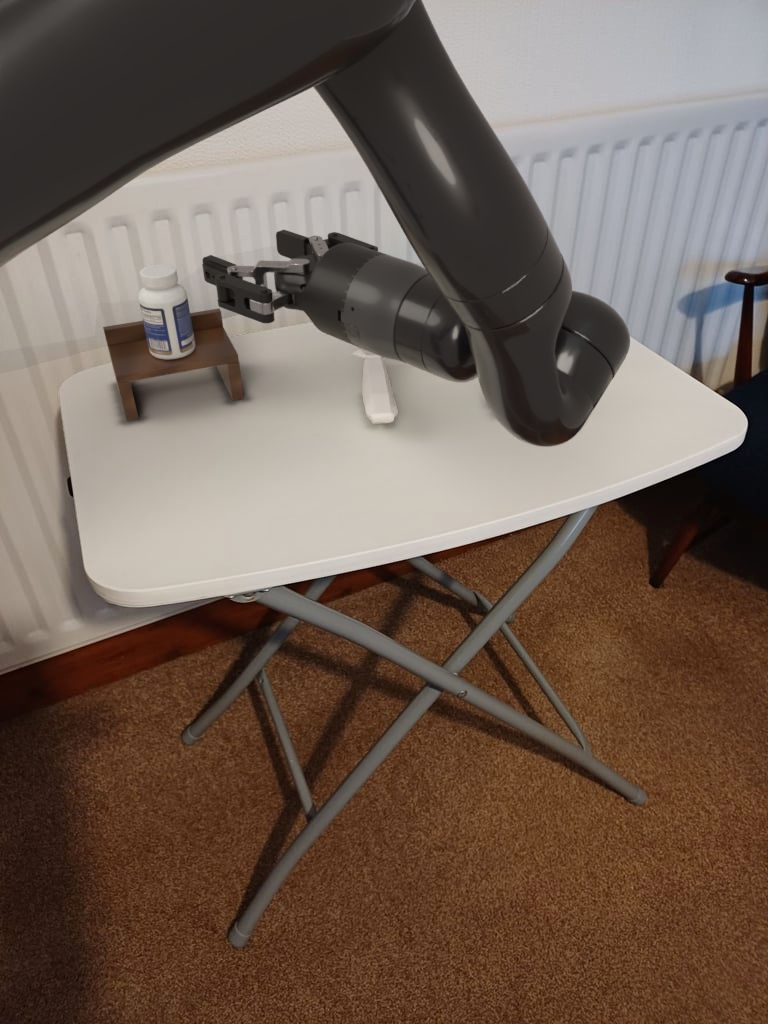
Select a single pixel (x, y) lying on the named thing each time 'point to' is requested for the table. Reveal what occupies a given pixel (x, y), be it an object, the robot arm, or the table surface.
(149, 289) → the pill bottle
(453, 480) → the table surface
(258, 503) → the table surface
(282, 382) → the table surface
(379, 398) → the white flared handle
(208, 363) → the shelf
